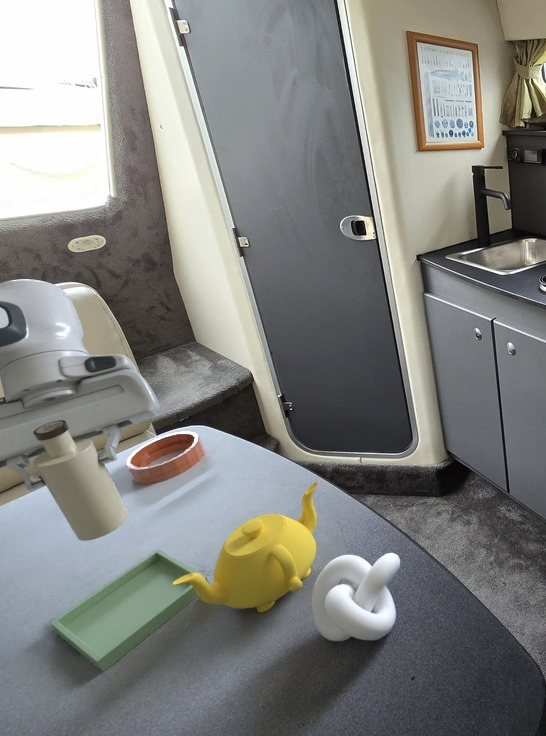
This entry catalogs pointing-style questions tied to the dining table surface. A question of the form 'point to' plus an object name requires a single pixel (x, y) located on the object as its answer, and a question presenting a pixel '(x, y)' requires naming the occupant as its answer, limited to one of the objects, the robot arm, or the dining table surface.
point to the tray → (126, 609)
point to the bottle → (79, 482)
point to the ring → (160, 448)
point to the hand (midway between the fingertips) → (74, 474)
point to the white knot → (355, 598)
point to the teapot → (261, 560)
